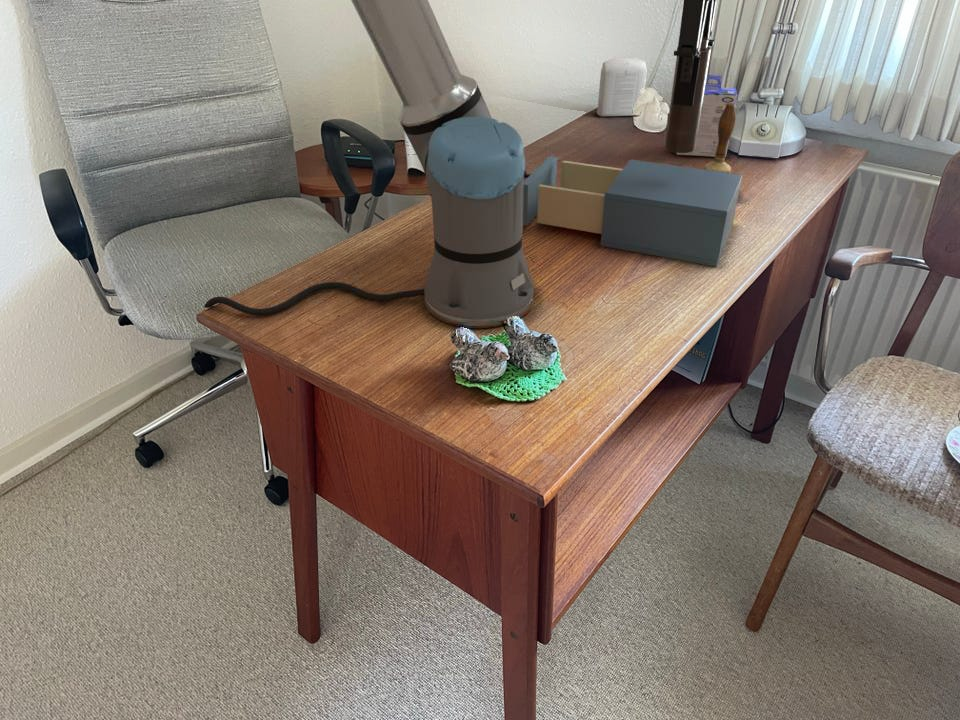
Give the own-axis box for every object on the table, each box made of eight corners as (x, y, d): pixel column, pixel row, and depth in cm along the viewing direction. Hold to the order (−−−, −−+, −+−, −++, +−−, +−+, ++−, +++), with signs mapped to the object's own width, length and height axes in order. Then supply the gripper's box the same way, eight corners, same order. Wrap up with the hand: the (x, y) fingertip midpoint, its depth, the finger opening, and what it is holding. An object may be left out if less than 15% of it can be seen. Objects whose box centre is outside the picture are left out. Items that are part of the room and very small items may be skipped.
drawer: (495, 219, 119) (495, 179, 115) (526, 189, 129) (526, 152, 125) (620, 241, 112) (624, 200, 108) (641, 208, 122) (646, 168, 118)
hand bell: (711, 183, 133) (727, 93, 124) (747, 198, 127) (766, 105, 118) (678, 193, 129) (692, 102, 120) (713, 209, 124) (731, 114, 114)
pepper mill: (673, 154, 105) (690, 34, 96) (659, 144, 109) (674, 27, 99) (700, 151, 106) (720, 31, 97) (685, 141, 110) (703, 25, 100)
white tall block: (639, 110, 168) (645, 54, 161) (643, 116, 165) (650, 59, 158) (595, 112, 168) (599, 56, 161) (598, 118, 165) (603, 60, 157)
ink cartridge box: (725, 148, 147) (739, 74, 139) (727, 158, 143) (741, 82, 134) (675, 146, 149) (686, 72, 140) (675, 155, 145) (686, 80, 136)
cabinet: (600, 245, 113) (604, 192, 108) (625, 209, 124) (630, 159, 119) (716, 266, 107) (727, 211, 102) (732, 226, 118) (742, 174, 113)
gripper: (735, -87, 82) (702, 120, 96) (755, -98, 95) (723, 86, 109) (668, -88, 85) (645, 114, 98) (697, -99, 97) (673, 81, 111)
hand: (686, 99), depth 103 cm, fingers closed on pepper mill, 4 cm apart
